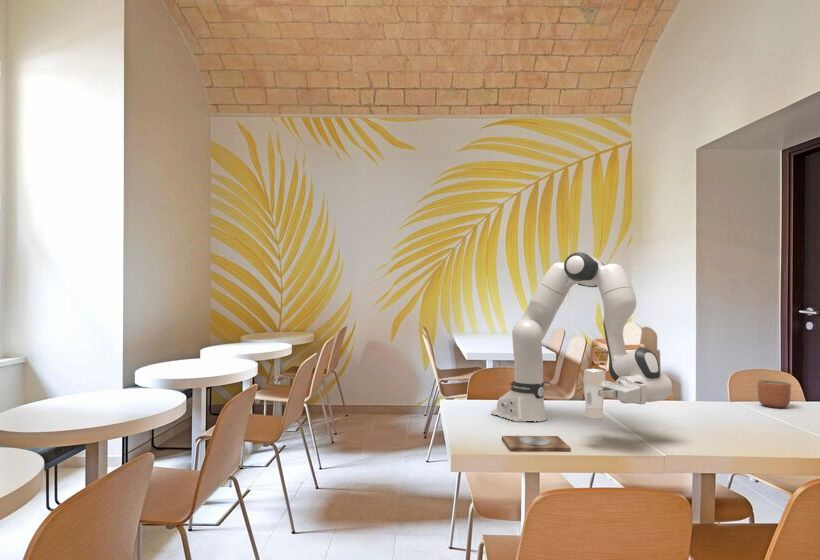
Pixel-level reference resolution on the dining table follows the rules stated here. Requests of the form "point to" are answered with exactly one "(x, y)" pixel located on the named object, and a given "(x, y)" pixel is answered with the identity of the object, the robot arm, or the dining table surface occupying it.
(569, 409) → the dining table surface
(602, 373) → the beer glass
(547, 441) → the walnut board
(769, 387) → the planter
